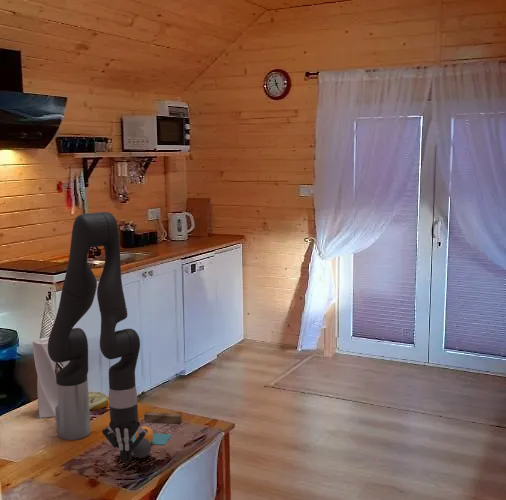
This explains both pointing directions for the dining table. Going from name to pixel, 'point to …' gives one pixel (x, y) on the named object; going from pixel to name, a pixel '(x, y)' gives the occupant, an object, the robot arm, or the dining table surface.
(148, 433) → the orange ball
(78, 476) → the dining table surface
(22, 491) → the dining table surface
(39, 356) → the skyscraper
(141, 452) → the gray ball
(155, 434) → the teal mark
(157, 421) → the walnut strip
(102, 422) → the dining table surface
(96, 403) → the decorated donut
